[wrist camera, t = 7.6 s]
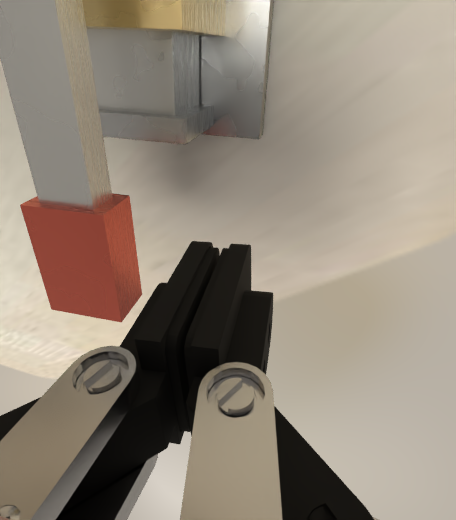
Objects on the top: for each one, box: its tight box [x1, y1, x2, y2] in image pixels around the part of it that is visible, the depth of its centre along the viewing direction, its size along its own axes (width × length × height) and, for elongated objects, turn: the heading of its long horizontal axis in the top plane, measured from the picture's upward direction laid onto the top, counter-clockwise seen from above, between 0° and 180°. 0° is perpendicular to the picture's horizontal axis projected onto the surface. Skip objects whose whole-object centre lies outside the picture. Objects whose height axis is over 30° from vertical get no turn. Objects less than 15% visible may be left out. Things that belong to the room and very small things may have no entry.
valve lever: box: [0, 0, 142, 322], centre depth 11 cm, size 14×3×2 cm, turn 179°
